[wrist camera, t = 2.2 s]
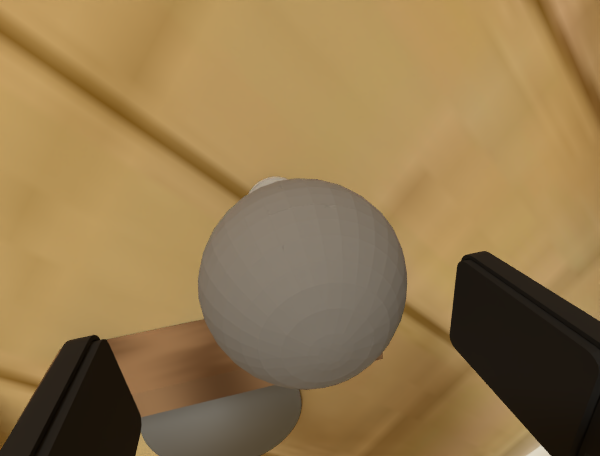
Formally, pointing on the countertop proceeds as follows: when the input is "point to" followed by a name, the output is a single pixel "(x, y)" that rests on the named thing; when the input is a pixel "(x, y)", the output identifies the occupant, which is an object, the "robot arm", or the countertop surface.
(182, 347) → the walnut rail
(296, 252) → the light bulb
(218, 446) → the pad
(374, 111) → the countertop surface
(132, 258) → the countertop surface
